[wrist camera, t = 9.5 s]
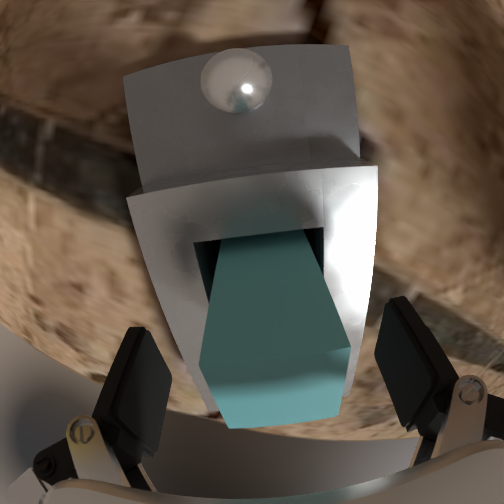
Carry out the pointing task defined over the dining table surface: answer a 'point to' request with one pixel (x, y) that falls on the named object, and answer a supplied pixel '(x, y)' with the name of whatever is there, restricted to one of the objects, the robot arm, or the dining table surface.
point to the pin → (273, 334)
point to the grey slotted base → (250, 176)
